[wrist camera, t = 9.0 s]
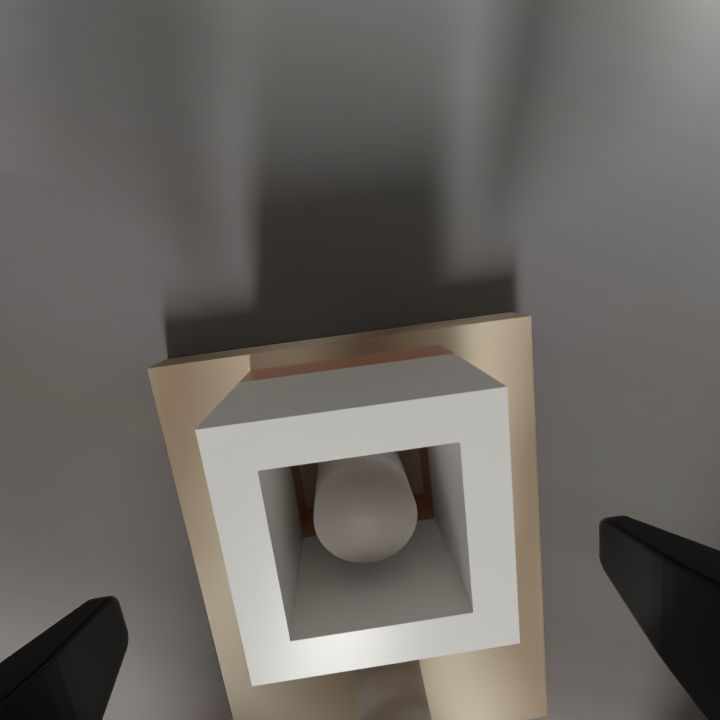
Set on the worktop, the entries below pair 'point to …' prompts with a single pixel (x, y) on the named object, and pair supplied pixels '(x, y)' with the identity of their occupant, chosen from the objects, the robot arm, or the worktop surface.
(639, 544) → the robot arm
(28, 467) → the worktop surface
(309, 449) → the sleeve
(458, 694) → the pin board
